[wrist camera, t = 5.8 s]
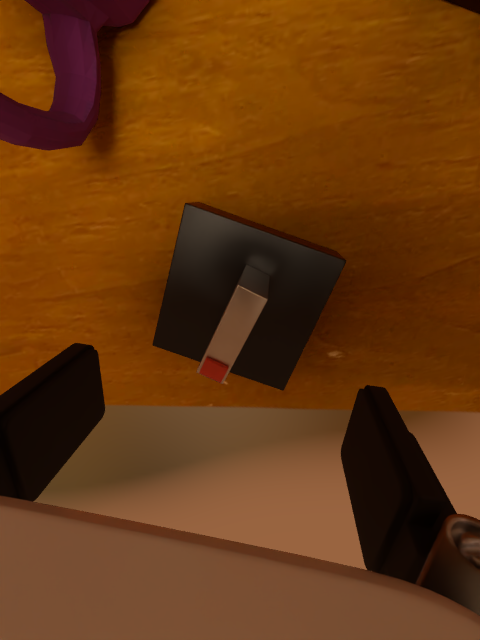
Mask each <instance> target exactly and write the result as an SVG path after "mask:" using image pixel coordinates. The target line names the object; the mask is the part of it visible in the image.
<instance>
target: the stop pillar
mask: <svg viewBox="0 0 480 640" xmlns="http://www.w3.org/2000/svg"><path fill="white" fill-rule="evenodd" d="M446 1H449V2H452V3H454V4H457V5H459V6H462V7H465V8H467V9H470V10H472V11H475V12H478V13H480V0H446Z"/></svg>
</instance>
